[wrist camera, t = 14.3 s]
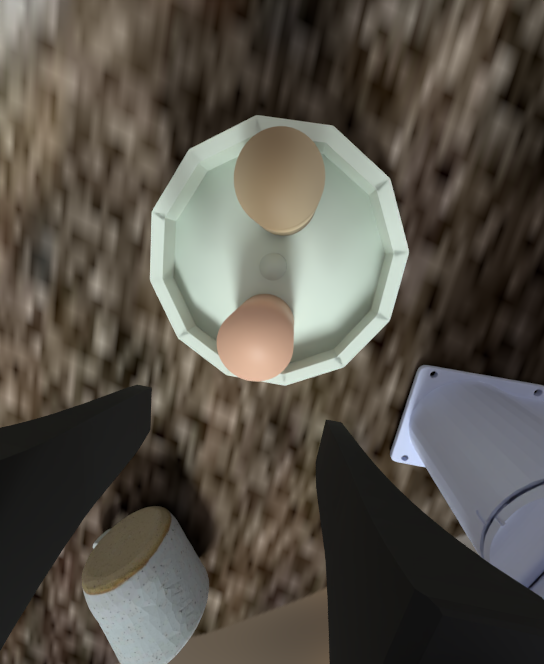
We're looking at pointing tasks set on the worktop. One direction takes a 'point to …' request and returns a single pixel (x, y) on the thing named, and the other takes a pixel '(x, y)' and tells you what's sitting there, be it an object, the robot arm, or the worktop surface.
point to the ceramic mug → (146, 587)
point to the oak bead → (280, 179)
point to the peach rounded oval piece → (257, 338)
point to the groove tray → (279, 252)
